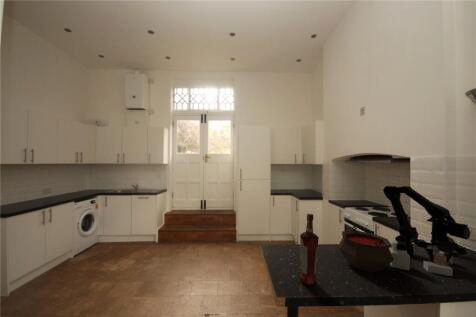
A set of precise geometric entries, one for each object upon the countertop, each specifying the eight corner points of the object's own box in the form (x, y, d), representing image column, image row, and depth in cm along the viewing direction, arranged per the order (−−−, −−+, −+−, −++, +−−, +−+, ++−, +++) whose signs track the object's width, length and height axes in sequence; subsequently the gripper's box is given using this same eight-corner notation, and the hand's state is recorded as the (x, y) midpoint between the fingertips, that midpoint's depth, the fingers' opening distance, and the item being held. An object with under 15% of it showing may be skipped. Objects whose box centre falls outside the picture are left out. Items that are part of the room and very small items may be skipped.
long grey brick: (427, 272, 99) (428, 264, 99) (423, 267, 104) (423, 260, 104) (452, 276, 96) (452, 269, 96) (446, 272, 100) (447, 264, 100)
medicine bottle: (405, 264, 106) (405, 240, 106) (409, 270, 99) (410, 245, 100) (388, 261, 109) (388, 238, 109) (391, 267, 102) (392, 242, 103)
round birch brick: (442, 263, 109) (442, 253, 109) (437, 259, 114) (437, 250, 114) (454, 265, 107) (455, 255, 107) (449, 261, 112) (449, 252, 112)
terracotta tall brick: (434, 267, 104) (435, 255, 105) (430, 263, 109) (431, 251, 109) (446, 269, 103) (446, 257, 103) (441, 265, 107) (442, 253, 107)
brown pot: (407, 280, 91) (408, 243, 91) (350, 276, 92) (352, 239, 92) (374, 255, 115) (375, 226, 115) (329, 252, 116) (331, 223, 116)
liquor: (296, 276, 90) (298, 211, 91) (312, 276, 90) (315, 212, 91) (302, 286, 83) (304, 216, 83) (320, 287, 83) (322, 217, 84)
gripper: (422, 233, 102) (421, 265, 102) (474, 241, 95) (473, 275, 94) (414, 227, 112) (413, 256, 112) (460, 233, 105) (459, 264, 105)
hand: (438, 263), depth 106 cm, fingers open, 5 cm apart
